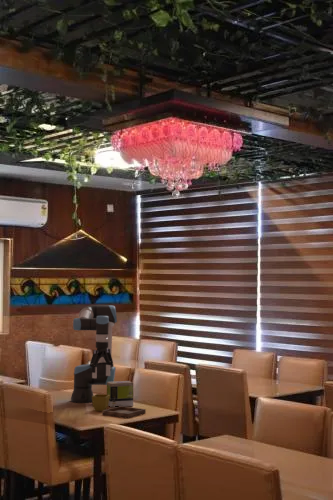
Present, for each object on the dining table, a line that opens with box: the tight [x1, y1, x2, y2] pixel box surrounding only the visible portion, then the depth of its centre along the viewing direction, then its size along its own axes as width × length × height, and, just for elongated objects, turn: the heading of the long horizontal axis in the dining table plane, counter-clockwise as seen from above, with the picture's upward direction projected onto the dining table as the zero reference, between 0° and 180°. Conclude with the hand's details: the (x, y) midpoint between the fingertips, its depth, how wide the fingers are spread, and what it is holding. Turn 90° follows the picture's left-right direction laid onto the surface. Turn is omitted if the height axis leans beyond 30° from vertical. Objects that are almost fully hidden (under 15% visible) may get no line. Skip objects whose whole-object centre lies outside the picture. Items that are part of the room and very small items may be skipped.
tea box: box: [106, 380, 134, 408], centre depth 420 cm, size 15×10×15 cm, turn 108°
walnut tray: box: [102, 406, 147, 419], centre depth 391 cm, size 18×18×2 cm
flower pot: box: [91, 393, 110, 412], centre depth 401 cm, size 9×9×9 cm
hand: (101, 377), depth 402 cm, fingers open, 13 cm apart
